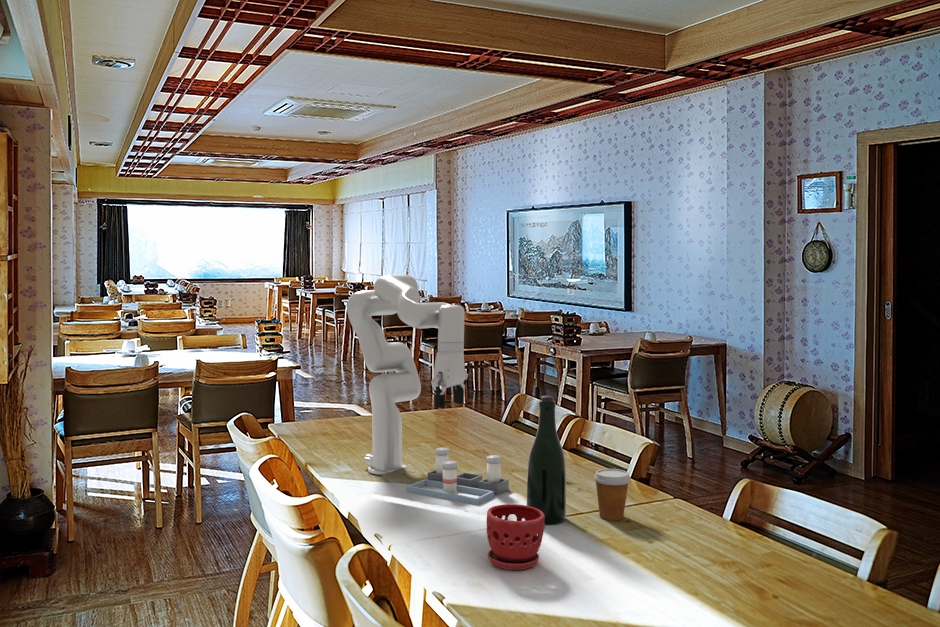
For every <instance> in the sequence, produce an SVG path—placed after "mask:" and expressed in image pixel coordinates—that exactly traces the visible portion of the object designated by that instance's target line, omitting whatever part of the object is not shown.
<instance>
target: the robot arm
mask: <svg viewBox="0 0 940 627" xmlns="http://www.w3.org/2000/svg"><path fill="white" fill-rule="evenodd" d="M420 300H421V299H420V292H419V285H418V282H417V280H416V278H415V277H413V276H412V275H410V274H409V275H408V274H387V275H382V276H380V277H379V278H377V279H376V280H375V282H374V284H373V289H369V290H368V289H366V290H360V291H356V292H354V293H352V294H351V295H350V297H349V298H348V300H347V304H346V307H347V308H346V309H347V315H348V316H347V317H348V320H349V322H350V325H351V326H352V328H353V330H354V333H355V335H356V337H357V340H358V342H359V347H360V350H361V352H362V353H361V354H362V356H363V357H362V358H363V359H364V363H365V366H366V368H367V369H368V371H370V372H371V373H382V374H379V375H376V376H375V377H374V376H373V377H372V379H371V380H370V381H369V383H368V384H369V385H368V392H369V394H368V395H369V398H370V404H371V415H372V416H371V418H372V419H371V420H372V422H371V423H372V426H371V428H372V429H371V430H372V432H371V433H372V434H371V435H372V436H371V437H372V438H371V439H372V441H371V442H372V444H371V445H372V447H371V448H372V454H366V455H365V457H364V459H363V460H364V462H367V463H369V465H368V467H367V471H368V473H369V474H373V475H378V476H379V475H380V476H384V475H387V474H389V473H393V472H396V471H398V470H401V469H404V468H405V467H407V465H405V463H403V441H402V440H403V431H402V429H403V427H402V426H403V420H402V419H403V418H402V414H401V411H400V409H399V408H398V406H397V405H396V403H399V402H400V403H401V402H408V401H413V400H415V399H417V398H419V396H420V394H421V391H422V385H421V379H420V375H419V373H418V370H417V366H416V363H415V360H414V357H413V354H412V352H411V350H410V348H409V347H408V346H407V344H405V343H403V342H402V341H401V342H400V341H397V342H395V341H394V342H388V341H387V340H386V337H385V334H384V331H383V329H382V327H381V325H379V323H378V322H377V320H375V319H373V318H372V316H373V317H374V316H391V315H395V314H397V316H398V318H399V320H401V322H403V323H404V324H405V325H408V326H410V327H412V328H414V329H430V328H431V329H432V328H434V329H435V328H437V329H438V330H437V331H438V332H437V352H436V356H435V358H434V359H435V360H434V369H433V378H432V380H431V381H430V383H431V387H432V388H431V389H432V391H433V394H434V407H435V408H437V409H445V408H446V394H445V392H446V390H447V388H452V387H454V389H453V402H454V403H457V404H464V403H465V389H466V385H467V380H468V377H469V374H468V372H466V370H465V367H466V366H465V355H464V354H465V353H464V350H465V348H464V347H465V346H464V345H465V343H464V342H465V307H463V306H462V305H459V304H450V303H447V302H444V301H442V302H440V301H439V302H420ZM386 372H387V373H386ZM388 372H389V373H388Z"/></svg>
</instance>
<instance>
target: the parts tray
mask: <svg viewBox="0 0 940 627" xmlns="http://www.w3.org/2000/svg"><path fill="white" fill-rule="evenodd" d="M424 486H428V487H433V488H438V489H443V482H438V481H432V480H428V479H426V478H425V479H422V480H420V481H417V482H414V483H412V484H408V485H407V486H406V492H408V493H413V494H419V495H423V496H428V497H433V498H434V497H435V498H440V499H445V500H451V501H454V502H455V501H456V502H461V503H467V504H473V505H477V506H479V505H480V504H482V503H484V502H486V501H488V500H490V499H492V498H494V497H495V496H494V491H489V490H484V489H478V488H472V487H466V486H461V485H457V492H461V493H467V494H472V495H478V497H475V496H474V497H473V496H468V495H463V494H458V493H457V494H452V493H446V492H443V491H440V490H434V489H430V488H424Z"/></svg>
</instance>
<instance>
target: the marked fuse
mask: <svg viewBox="0 0 940 627" xmlns="http://www.w3.org/2000/svg"><path fill="white" fill-rule="evenodd" d="M442 468H443V488H442V492H446V493H452V494H457V495H458V491H457V475H458V471H457V470H458V462H457V461H455V460H449V461H444V462H443V463H442Z"/></svg>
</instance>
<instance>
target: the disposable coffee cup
mask: <svg viewBox="0 0 940 627" xmlns="http://www.w3.org/2000/svg"><path fill="white" fill-rule="evenodd" d="M593 478H594V480H595V481H594V482H595V487H596V495H597V496H596V497H597V503H598V504H597V505H598V513H599V517H600V518H601V519H603V520H606V521H620V520H623V519H624V516H625V508H626V502H627V501H626V500H627V495H628V488H629V487H628V486H629V482H630V481H631V477H630V475H629V472H628V471H627V470H626V471H625V470H623V469H619V468H617V469H616V468H603V469H598V470H596V471H595V474H594V477H593Z"/></svg>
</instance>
